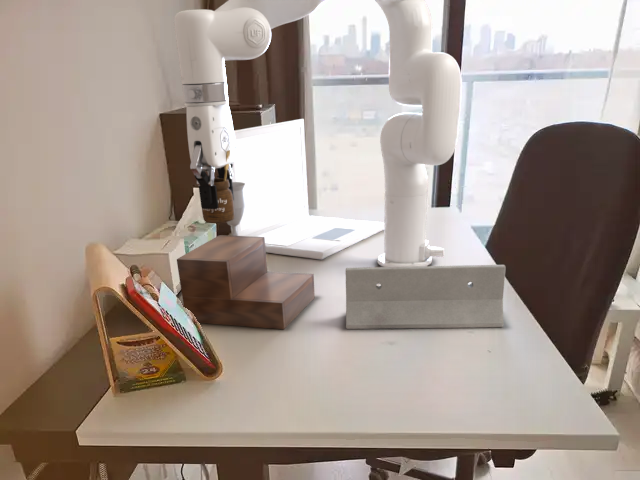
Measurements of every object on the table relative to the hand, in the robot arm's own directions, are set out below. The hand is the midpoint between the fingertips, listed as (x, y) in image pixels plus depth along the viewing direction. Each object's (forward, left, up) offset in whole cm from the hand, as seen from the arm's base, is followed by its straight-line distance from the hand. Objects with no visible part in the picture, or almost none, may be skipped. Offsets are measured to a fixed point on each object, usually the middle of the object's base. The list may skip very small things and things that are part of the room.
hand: (218, 203), depth 120 cm
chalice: (+12, -31, -20) cm, 39 cm away
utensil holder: (0, 0, -3) cm, 3 cm away
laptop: (+1, -56, -20) cm, 59 cm away
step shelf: (-5, 0, -20) cm, 21 cm away
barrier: (-39, 0, -20) cm, 44 cm away
